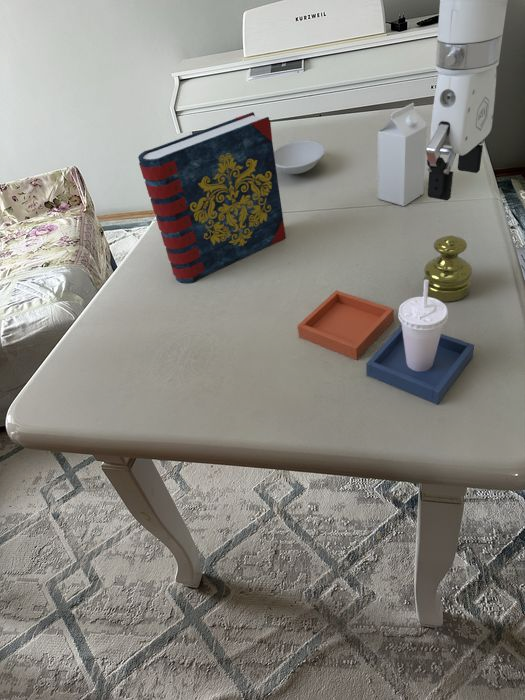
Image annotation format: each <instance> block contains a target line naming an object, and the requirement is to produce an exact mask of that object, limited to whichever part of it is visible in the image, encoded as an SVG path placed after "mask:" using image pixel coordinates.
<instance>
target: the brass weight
mask: <svg viewBox="0 0 525 700" xmlns="http://www.w3.org/2000/svg"><path fill="white" fill-rule="evenodd" d="M467 247H468V243H467V241H466V240H465V239H464V238H462V237H459V236H456V235H446V236H442V237H439V238H437V239H436V240H435V241H434V243H433V249H434V251H436V252H437V253H439V254H440V255H438V256H436V257H434V258H433V259H431V260H429V261H428V262H427V263H426V264H425V266H424V268H423V270H424V271H423V272H424V273H423V274H424V277H423V281H424V280H429V283H428V297H431V298H435V299H437V300H440V301H441V302H445V303H448V302H455V301H459V300H461V299H463V298H465V297H466V296H467V295H468V293H469V292H470V285H471V281H472V280H471V276H472V273H473V269H472V266H471V264H470V263H469V262H468V261H467V260H465V259H463V258H462V257H461V256H459V255H460V254H462V253H464V252H465V251H466V250H467Z"/></svg>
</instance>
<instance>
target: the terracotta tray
mask: <svg viewBox="0 0 525 700" xmlns="http://www.w3.org/2000/svg"><path fill="white" fill-rule="evenodd" d="M394 314H395V309H394V308H392V307H389V306H387V305H383V304H380V303H377V302H374V301H372V300H368V299H365V298H361V297H358V296H356V295H352V294H350V293H346V292H343V291H340V290H338V289H337V290H334V291H333V292H332V293H331V294H330V295H329V296H328V297H327V298H326V299H324V300H323V302H322V303H320V304H319V305H318V306H317V307H316V308H315V309H313V311H311V313H309V314H308V315H307V316H306V317H305V318H304V319H303V320H302V321H300V323H298V324H297V333H298V337H299V338H301V339H303V340H306V341H309V342H311V343H313V344H315V345H319V346H321V347H323V348H325V349H328V350H331V351H333V352H336V353H338V354H341V355H343V356H346V357H348V358H350V359H353V360H356V361H358V359H360V357H361V356H362V355H363V354H365V352H366V351H367V350H368V349H369V348H370V347H371V346H372V344H373V343H374V342H376V340H377V339H379V337H380V336H381V335H382V334H383V333H384V332H385V330H386V329H388V328H389V326H390V325H391V324H392V323H393V322H394V320H395V319H394V318H395V317H394V316H395V315H394Z"/></svg>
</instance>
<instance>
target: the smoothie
mask: <svg viewBox="0 0 525 700" xmlns="http://www.w3.org/2000/svg"><path fill="white" fill-rule="evenodd" d="M428 283H429V280H424V279H423V294H422V296H415V297H411V298H408V299H405V301H403V302H402V303H401V304H400V305H399V307H398V315H397V318H398V321H399V322H400V324H401V325H402V331H403V339H404V347H405V354H406V362H407V366H408V367H409V368H410V369H412V370H414V371H427V370H429V369H430V368H431V367H432V366H433V362H434V358H435V354H436V351H437V347H438V343H439V339H440V336H441V334H442V332H443V328H444V325H445V324H446V322H447V321H448V318H449V315H448V313H449V310H448V307H447V305H446V304H445V303H444V301H440V300H437V299H435V298H431V297H429V296H428Z"/></svg>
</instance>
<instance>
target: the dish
mask: <svg viewBox="0 0 525 700" xmlns="http://www.w3.org/2000/svg"><path fill="white" fill-rule="evenodd" d="M273 150H274V157H275V164H276V169H278V170H279V171H281V172H282V173H285V174H289V175H299V174H303V173H306V172H308V171H310V170H311V169H313V168H314V167H315V166H316V165H317V164H318V163H319V161H320V160H321V159H322V158H323V156H325V153H326V148H325V145H323V143H321V142H319V141H316V140H309V139H300V140H294V141H290V142H289V141H288V142H287V143H283V144H280V145H279V146H277V147H276V148H273Z"/></svg>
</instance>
